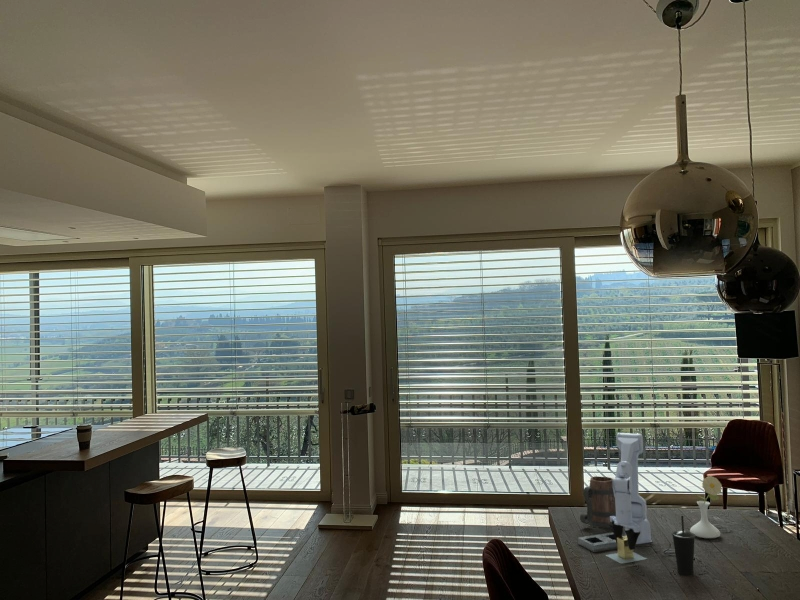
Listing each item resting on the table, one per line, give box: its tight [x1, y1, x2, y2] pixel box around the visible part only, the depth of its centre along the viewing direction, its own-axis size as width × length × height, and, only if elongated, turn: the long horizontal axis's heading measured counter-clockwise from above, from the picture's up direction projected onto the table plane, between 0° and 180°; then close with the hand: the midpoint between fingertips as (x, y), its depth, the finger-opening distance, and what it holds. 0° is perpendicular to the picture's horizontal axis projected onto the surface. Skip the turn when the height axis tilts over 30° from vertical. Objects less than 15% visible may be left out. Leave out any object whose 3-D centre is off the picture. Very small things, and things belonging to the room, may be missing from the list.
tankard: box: [579, 475, 616, 530], centre depth 262 cm, size 24×17×20 cm
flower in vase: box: [689, 475, 723, 539], centre depth 244 cm, size 13×11×25 cm
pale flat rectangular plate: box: [605, 551, 648, 565], centre depth 222 cm, size 12×9×1 cm
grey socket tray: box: [577, 531, 624, 553], centre depth 235 cm, size 18×10×3 cm, turn 108°
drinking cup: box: [671, 515, 696, 577], centre depth 207 cm, size 8×8×20 cm
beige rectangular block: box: [616, 535, 634, 559], centre depth 222 cm, size 4×4×7 cm
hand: (625, 545), depth 222 cm, fingers open, 7 cm apart
